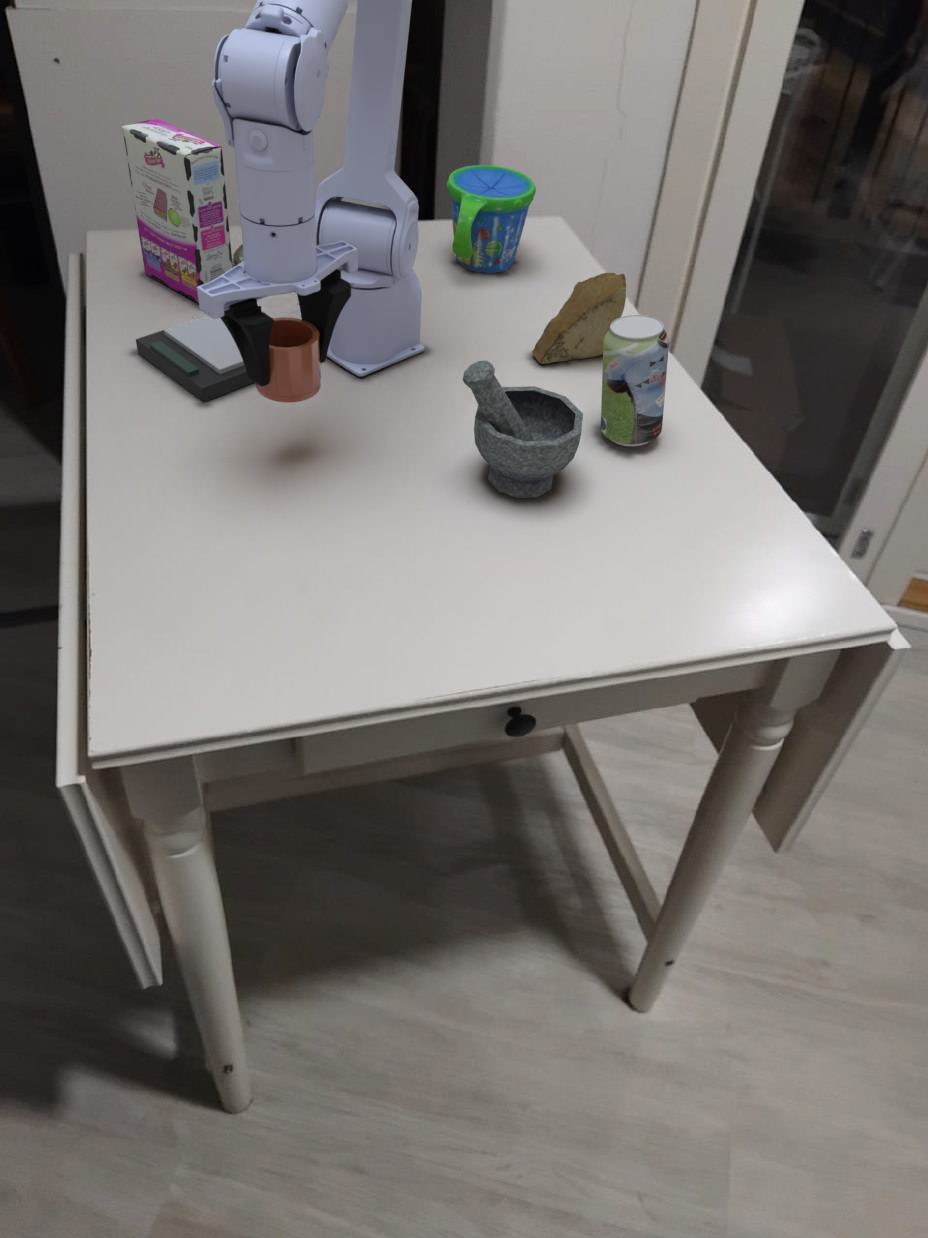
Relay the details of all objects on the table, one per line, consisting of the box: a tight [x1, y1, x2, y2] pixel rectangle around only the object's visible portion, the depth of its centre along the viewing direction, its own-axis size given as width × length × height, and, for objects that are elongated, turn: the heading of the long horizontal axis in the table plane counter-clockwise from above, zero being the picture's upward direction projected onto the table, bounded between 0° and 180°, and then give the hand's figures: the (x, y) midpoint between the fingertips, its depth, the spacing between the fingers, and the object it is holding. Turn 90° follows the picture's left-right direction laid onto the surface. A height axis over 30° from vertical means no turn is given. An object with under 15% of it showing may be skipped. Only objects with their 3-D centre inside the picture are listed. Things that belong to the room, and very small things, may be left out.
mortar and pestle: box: [462, 360, 584, 499], centre depth 84 cm, size 11×9×12 cm
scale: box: [135, 311, 272, 403], centre depth 99 cm, size 14×12×2 cm
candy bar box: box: [121, 118, 234, 304], centre depth 105 cm, size 11×5×16 cm, turn 49°
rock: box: [531, 272, 627, 365], centre depth 104 cm, size 11×9×10 cm
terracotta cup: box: [255, 316, 322, 403], centre depth 82 cm, size 6×6×5 cm
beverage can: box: [600, 314, 670, 447], centre depth 91 cm, size 6×7×12 cm
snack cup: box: [446, 164, 537, 274], centre depth 117 cm, size 16×10×10 cm
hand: (287, 369), depth 82 cm, fingers closed on terracotta cup, 5 cm apart
